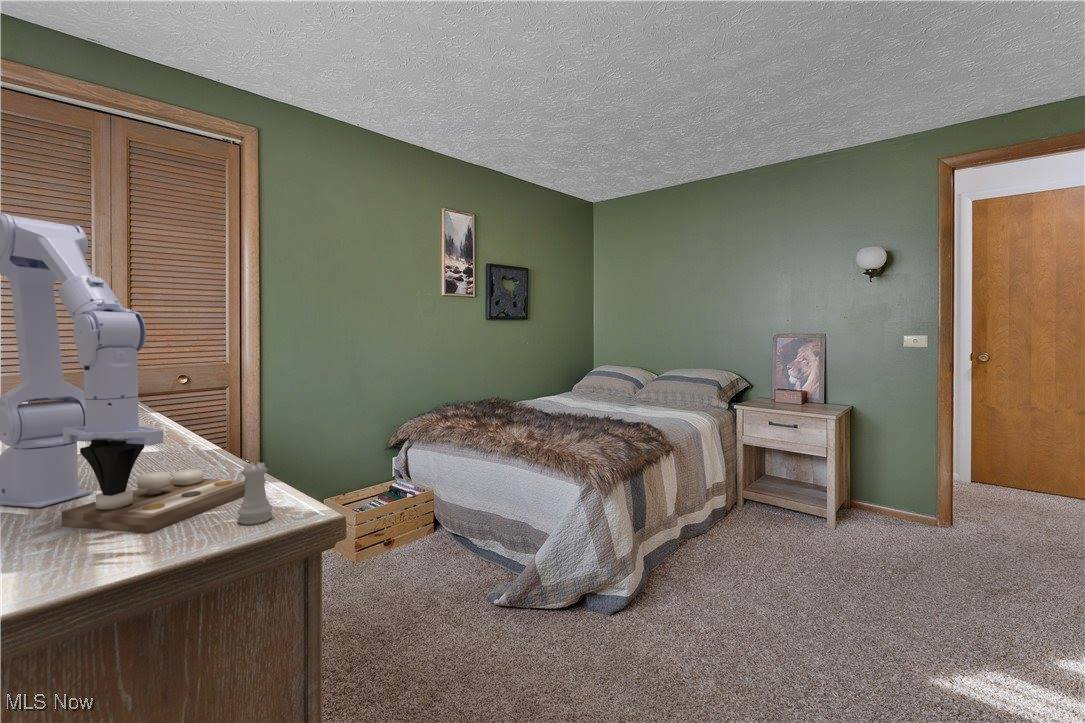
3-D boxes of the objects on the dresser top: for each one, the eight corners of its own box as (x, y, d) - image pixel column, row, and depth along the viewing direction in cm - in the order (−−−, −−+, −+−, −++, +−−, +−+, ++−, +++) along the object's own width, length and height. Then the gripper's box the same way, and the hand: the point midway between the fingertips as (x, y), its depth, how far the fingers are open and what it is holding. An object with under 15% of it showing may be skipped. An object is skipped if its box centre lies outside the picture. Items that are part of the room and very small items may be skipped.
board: (62, 525, 69) (61, 507, 69) (178, 488, 87) (178, 474, 87) (149, 533, 66) (148, 514, 66) (250, 493, 84) (250, 478, 84)
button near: (87, 516, 69) (87, 496, 69) (117, 507, 73) (116, 488, 73) (112, 518, 69) (111, 498, 69) (140, 509, 73) (140, 490, 72)
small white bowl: (167, 491, 81) (166, 474, 81) (188, 484, 85) (188, 468, 85) (188, 493, 80) (188, 475, 80) (209, 486, 84) (208, 469, 84)
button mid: (130, 496, 75) (130, 477, 75) (155, 488, 79) (154, 470, 79) (153, 497, 75) (152, 478, 74) (177, 489, 78) (176, 472, 78)
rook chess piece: (257, 527, 69) (256, 469, 69) (229, 524, 70) (228, 467, 70) (280, 516, 73) (279, 461, 73) (253, 513, 74) (252, 460, 74)
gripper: (36, 399, 68) (39, 499, 68) (127, 401, 65) (130, 505, 66) (91, 394, 75) (94, 485, 75) (176, 396, 72) (178, 490, 73)
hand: (114, 493), depth 71 cm, fingers closed, pressing on button near
